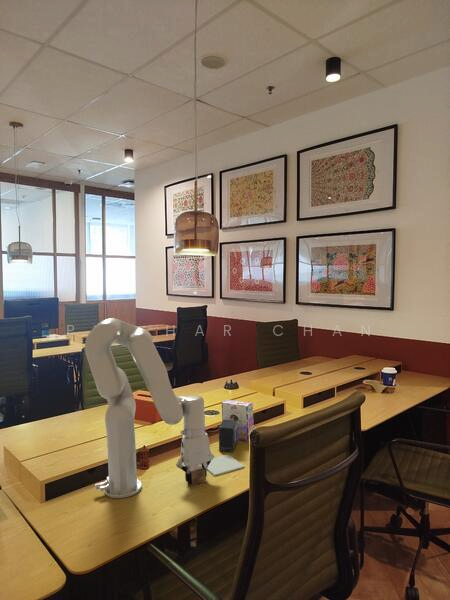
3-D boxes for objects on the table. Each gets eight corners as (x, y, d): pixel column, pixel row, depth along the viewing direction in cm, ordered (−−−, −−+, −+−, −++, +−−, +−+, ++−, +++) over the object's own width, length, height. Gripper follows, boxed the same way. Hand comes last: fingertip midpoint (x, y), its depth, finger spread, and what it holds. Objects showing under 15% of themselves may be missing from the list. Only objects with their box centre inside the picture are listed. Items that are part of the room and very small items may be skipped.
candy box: (254, 438, 186) (253, 402, 185) (248, 442, 181) (247, 406, 180) (228, 432, 193) (227, 398, 193) (222, 437, 188) (221, 402, 188)
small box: (233, 452, 171) (233, 428, 170) (218, 451, 172) (217, 427, 172) (238, 442, 181) (237, 419, 181) (223, 442, 182) (223, 419, 182)
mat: (214, 476, 150) (214, 474, 150) (199, 463, 162) (199, 461, 162) (244, 467, 157) (244, 466, 156) (227, 455, 168) (227, 454, 168)
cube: (192, 487, 143) (192, 473, 143) (187, 481, 147) (186, 467, 147) (205, 483, 145) (205, 469, 145) (199, 477, 150) (199, 464, 149)
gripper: (176, 439, 138) (178, 491, 139) (220, 429, 146) (222, 479, 147) (168, 432, 145) (170, 482, 146) (211, 423, 153) (212, 470, 154)
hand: (196, 480), depth 146 cm, fingers closed on cube, 5 cm apart
